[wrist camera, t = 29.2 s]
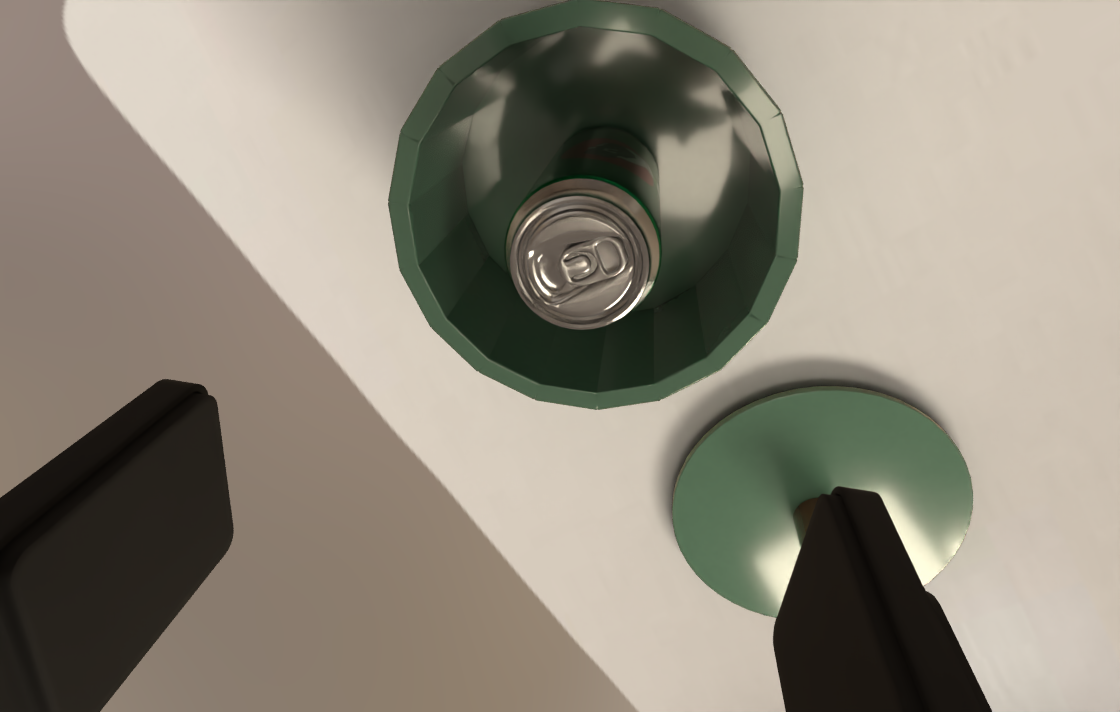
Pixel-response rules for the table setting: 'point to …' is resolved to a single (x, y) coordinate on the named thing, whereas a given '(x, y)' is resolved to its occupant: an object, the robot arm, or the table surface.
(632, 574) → the table surface
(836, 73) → the table surface
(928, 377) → the table surface
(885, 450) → the bowl lid
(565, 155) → the soda can
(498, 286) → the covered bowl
